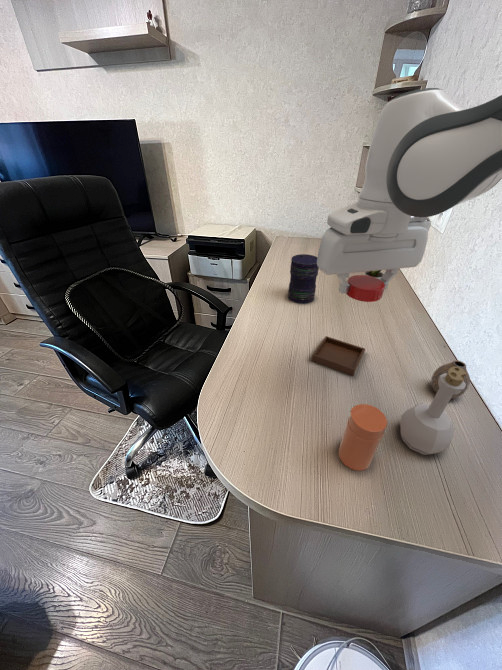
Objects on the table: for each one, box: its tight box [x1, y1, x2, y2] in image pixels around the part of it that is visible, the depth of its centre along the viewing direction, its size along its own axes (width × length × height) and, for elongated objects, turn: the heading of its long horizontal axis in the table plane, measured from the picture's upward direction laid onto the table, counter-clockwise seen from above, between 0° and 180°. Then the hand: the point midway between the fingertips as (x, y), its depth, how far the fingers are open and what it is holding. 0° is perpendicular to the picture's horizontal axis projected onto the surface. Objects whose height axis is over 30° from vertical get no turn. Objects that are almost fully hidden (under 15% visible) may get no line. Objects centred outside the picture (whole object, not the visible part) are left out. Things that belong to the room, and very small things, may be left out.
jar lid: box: [345, 274, 385, 303], centre depth 55 cm, size 7×7×2 cm
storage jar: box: [287, 253, 320, 305], centre depth 100 cm, size 10×10×15 cm
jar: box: [337, 403, 388, 472], centre depth 49 cm, size 6×6×11 cm
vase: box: [430, 359, 471, 399], centre depth 63 cm, size 7×7×9 cm
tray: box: [311, 335, 366, 377], centre depth 75 cm, size 11×10×2 cm
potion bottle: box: [400, 367, 466, 456], centre depth 50 cm, size 9×9×18 cm
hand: (362, 290), depth 55 cm, fingers closed on jar lid, 7 cm apart
